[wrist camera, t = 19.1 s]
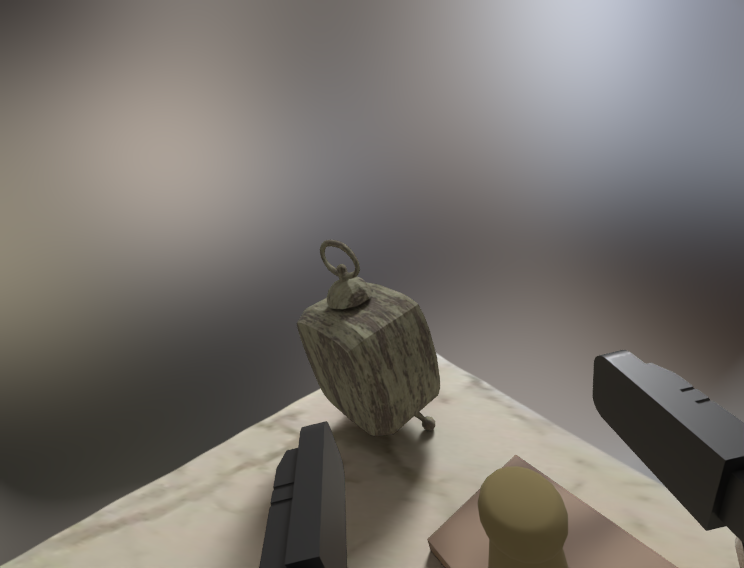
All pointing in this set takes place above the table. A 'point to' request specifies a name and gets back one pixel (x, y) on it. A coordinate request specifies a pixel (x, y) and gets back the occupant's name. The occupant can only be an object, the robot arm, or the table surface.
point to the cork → (523, 520)
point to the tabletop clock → (370, 351)
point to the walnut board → (582, 546)
